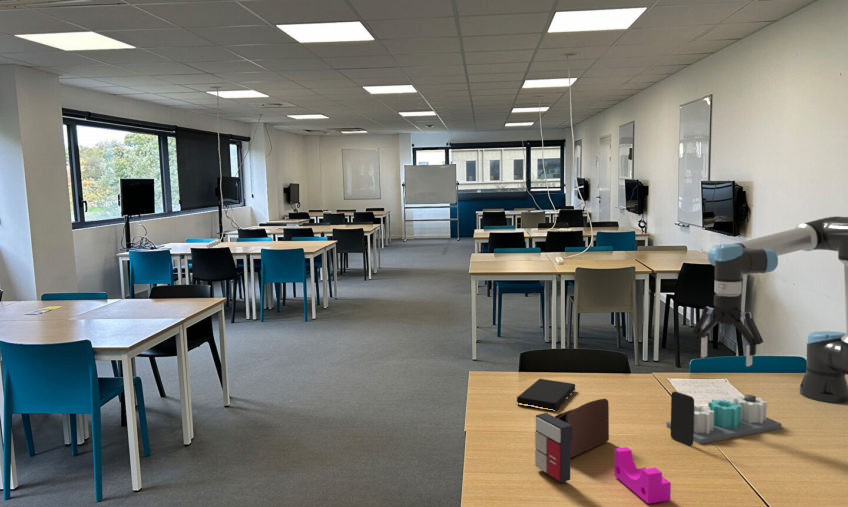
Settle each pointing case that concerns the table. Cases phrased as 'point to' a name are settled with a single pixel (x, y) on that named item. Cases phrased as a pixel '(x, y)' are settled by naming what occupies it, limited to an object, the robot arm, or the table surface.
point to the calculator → (553, 446)
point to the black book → (546, 394)
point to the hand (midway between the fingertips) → (725, 361)
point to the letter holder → (587, 425)
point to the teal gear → (725, 413)
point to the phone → (682, 418)
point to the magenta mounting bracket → (641, 478)
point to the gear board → (750, 424)
